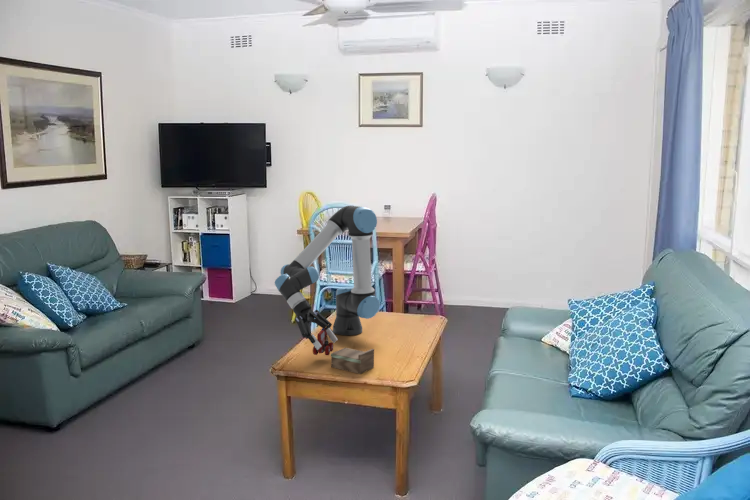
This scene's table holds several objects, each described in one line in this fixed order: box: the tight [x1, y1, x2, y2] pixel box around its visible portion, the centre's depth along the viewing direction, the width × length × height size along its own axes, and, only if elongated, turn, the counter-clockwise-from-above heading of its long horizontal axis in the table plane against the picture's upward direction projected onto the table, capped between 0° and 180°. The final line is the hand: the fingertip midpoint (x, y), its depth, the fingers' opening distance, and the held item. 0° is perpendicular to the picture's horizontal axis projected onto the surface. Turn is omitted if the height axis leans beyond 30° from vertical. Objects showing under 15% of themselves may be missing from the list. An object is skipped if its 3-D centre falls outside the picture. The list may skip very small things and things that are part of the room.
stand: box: [330, 347, 375, 375], centre depth 262 cm, size 15×10×8 cm
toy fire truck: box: [312, 327, 334, 356], centre depth 271 cm, size 7×12×10 cm, turn 169°
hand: (327, 344), depth 269 cm, fingers closed on toy fire truck, 11 cm apart
